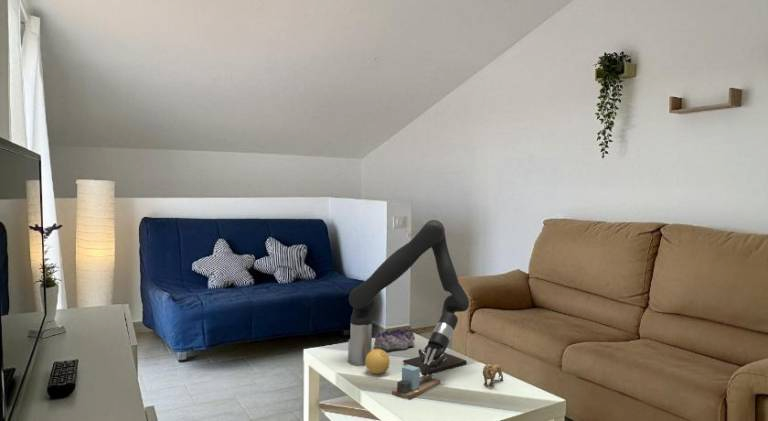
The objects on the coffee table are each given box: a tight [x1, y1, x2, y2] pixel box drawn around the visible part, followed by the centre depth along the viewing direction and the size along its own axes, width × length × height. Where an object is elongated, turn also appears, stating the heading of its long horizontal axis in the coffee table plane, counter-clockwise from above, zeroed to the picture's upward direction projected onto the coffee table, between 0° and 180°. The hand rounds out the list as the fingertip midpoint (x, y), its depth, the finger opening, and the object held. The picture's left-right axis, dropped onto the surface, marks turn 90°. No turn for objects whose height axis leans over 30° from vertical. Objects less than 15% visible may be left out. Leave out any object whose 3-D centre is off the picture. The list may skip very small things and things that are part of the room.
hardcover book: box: [402, 352, 468, 376], centre depth 238 cm, size 16×23×2 cm
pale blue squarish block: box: [401, 365, 421, 390], centre depth 205 cm, size 5×4×7 cm
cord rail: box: [391, 374, 442, 401], centre depth 209 cm, size 8×21×5 cm, turn 142°
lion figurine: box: [482, 363, 504, 387], centre depth 217 cm, size 15×5×9 cm, turn 149°
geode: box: [373, 328, 416, 352], centre depth 261 cm, size 20×12×10 cm, turn 120°
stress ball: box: [365, 348, 391, 375], centre depth 225 cm, size 10×10×10 cm
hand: (423, 374), depth 212 cm, fingers closed
